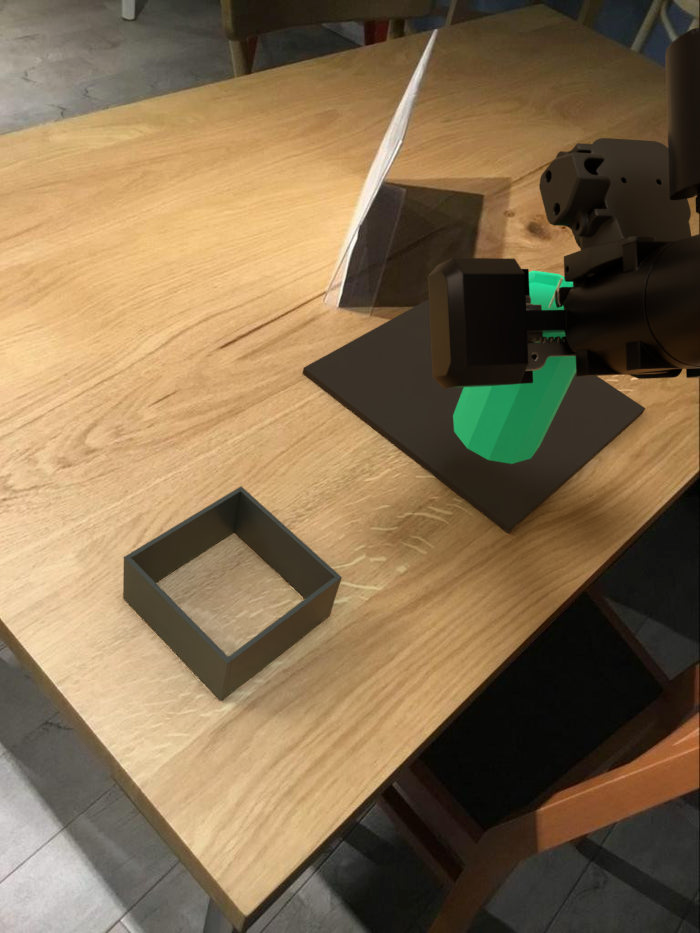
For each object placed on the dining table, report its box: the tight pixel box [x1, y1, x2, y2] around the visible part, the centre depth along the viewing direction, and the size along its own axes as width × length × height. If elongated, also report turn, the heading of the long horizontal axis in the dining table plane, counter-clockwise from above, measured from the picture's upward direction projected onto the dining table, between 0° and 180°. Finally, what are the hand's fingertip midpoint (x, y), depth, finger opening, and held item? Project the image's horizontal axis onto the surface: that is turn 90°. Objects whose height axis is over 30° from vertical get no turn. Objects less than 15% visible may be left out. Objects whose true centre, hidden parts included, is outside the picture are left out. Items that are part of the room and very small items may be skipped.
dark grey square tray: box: [122, 486, 343, 702], centre depth 50 cm, size 9×9×4 cm
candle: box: [453, 269, 576, 464], centre depth 53 cm, size 6×6×12 cm
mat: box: [302, 298, 646, 534], centre depth 69 cm, size 20×20×1 cm
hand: (521, 338), depth 54 cm, fingers closed on candle, 5 cm apart
